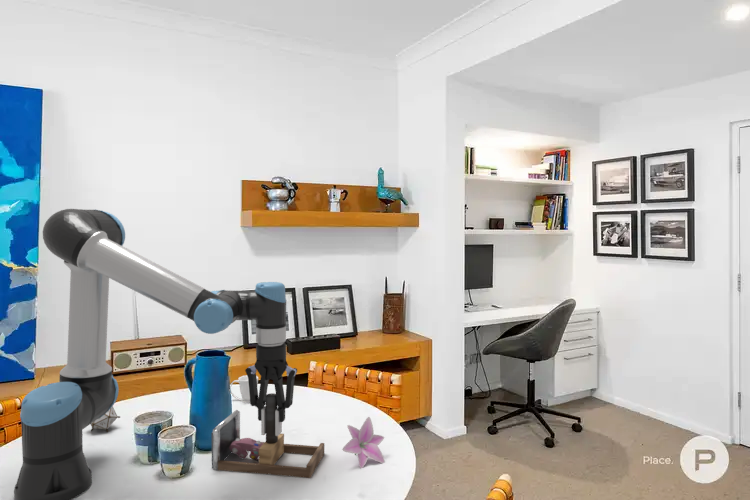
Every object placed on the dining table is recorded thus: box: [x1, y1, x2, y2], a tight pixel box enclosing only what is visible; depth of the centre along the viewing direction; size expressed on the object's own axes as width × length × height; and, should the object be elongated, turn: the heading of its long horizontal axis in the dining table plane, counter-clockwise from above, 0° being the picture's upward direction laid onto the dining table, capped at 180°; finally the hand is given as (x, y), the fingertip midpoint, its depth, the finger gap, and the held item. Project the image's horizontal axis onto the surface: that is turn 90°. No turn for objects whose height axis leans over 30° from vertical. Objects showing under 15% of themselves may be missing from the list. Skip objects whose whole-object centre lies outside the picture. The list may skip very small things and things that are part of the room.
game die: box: [90, 405, 121, 433], centre depth 152 cm, size 9×8×10 cm
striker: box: [258, 392, 285, 465], centre depth 131 cm, size 10×3×17 cm, turn 171°
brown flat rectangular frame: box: [217, 441, 325, 479], centre depth 132 cm, size 13×24×3 cm, turn 81°
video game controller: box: [229, 437, 263, 461], centre depth 133 cm, size 10×5×7 cm, turn 76°
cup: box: [230, 374, 259, 404], centre depth 177 cm, size 7×10×8 cm
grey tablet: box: [210, 409, 241, 471], centre depth 133 cm, size 14×2×11 cm, turn 171°
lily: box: [341, 416, 385, 469], centre depth 133 cm, size 12×12×10 cm
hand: (271, 433), depth 131 cm, fingers closed on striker, 3 cm apart
